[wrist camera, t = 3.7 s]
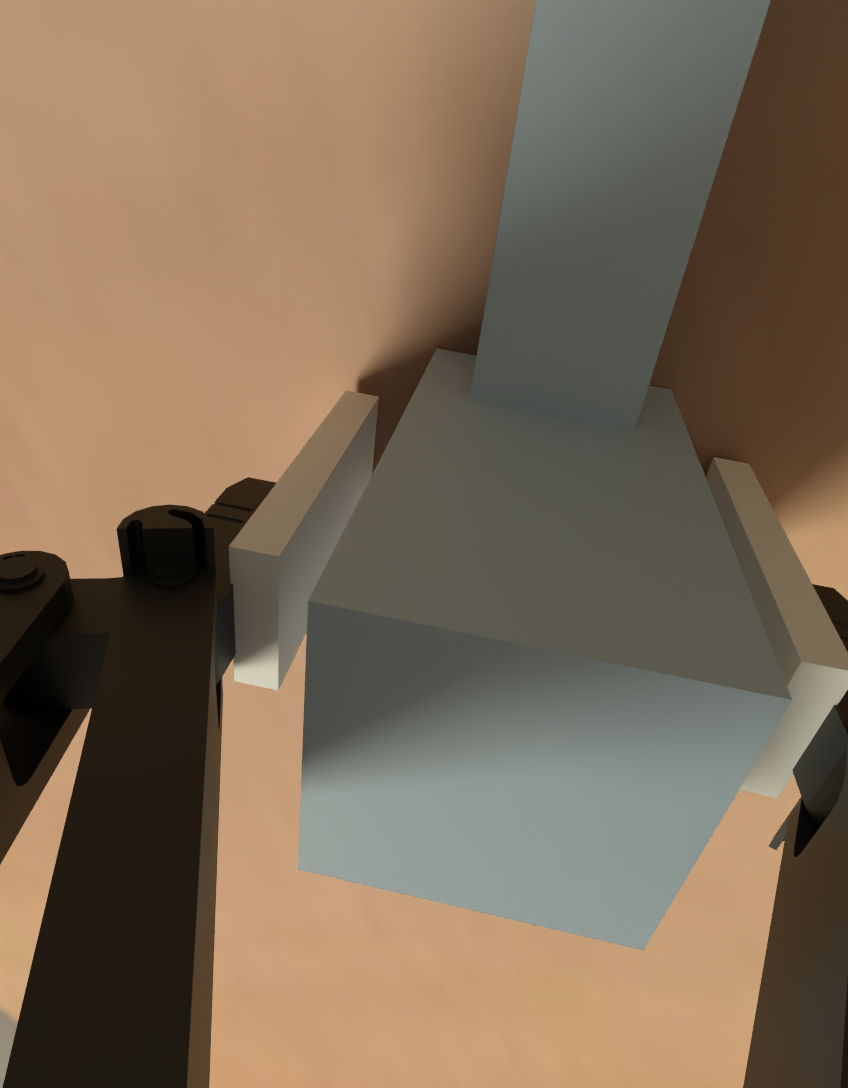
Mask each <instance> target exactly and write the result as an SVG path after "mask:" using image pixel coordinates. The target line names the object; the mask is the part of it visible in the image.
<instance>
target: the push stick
mask: <svg viewBox="0 0 848 1088" xmlns="http://www.w3.org/2000/svg"><path fill="white" fill-rule="evenodd" d="M770 2H771V0H536V5H535V11H534V17H533V22H532V28H531V34H530V40H529V46H528V52H527V58H526V64H525V70H524V76H523V82H522V88H521V94H520V100H519V106H518V112H517V118H516V124H515V130H514V136H513V142H512V148H511V154H510V160H509V166H508V172H507V177H506V183H505V189H504V195H503V201H502V207H501V213H500V219H499V225H498V231H497V237H496V243H495V249H494V255H493V261H492V267H491V273H490V279H489V285H488V291H487V297H486V303H485V309H484V315H483V321H482V327H481V332H480V338H479V344H478V350H477V355H472V354H467V353H461V352H455V351H449V350H444V349H438V348H437V349H436V350H435V352H434V354H433V356H432V358H431V360H430V362H429V364H428V366H427V368H426V370H425V372H424V374H423V376H422V378H421V380H420V382H419V384H418V386H417V388H416V390H415V392H414V394H413V396H412V398H411V400H410V402H409V404H408V405H407V407H406V409H405V411H404V413H403V415H402V417H401V419H400V421H399V423H398V425H397V427H396V429H395V431H394V433H393V435H392V437H391V439H390V441H389V443H388V445H387V447H386V449H385V451H384V453H383V455H382V457H381V459H380V460H379V462H378V464H377V466H376V468H375V470H374V472H373V474H372V476H371V478H370V480H369V482H368V484H367V486H366V488H365V490H364V492H363V494H362V496H361V498H360V500H359V502H358V504H357V506H356V508H355V510H354V512H353V514H352V516H351V517H350V519H349V521H348V523H347V525H346V527H345V529H344V531H343V533H342V535H341V537H340V539H339V541H338V543H337V545H336V547H335V549H334V551H333V553H332V555H331V557H330V559H329V561H328V563H327V565H326V567H325V569H324V571H323V572H322V574H321V576H320V578H319V580H318V582H317V584H316V586H315V588H314V590H313V592H312V594H311V596H310V598H309V600H308V616H307V644H306V671H305V698H304V725H303V753H302V780H301V807H300V835H299V862H298V870H303V871H307V872H311V873H316V874H320V875H324V876H328V877H333V878H337V879H341V880H345V881H350V882H354V883H358V884H362V885H367V886H371V887H375V888H380V889H384V890H388V891H392V892H397V893H401V894H405V895H409V896H414V897H418V898H422V899H427V900H431V901H435V902H439V903H444V904H448V905H452V906H456V907H461V908H465V909H469V910H473V911H478V912H482V913H486V914H491V915H495V916H499V917H503V918H508V919H512V920H516V921H520V922H525V923H529V924H533V925H538V926H542V927H546V928H550V929H555V930H559V931H563V932H567V933H572V934H576V935H580V936H585V937H589V938H593V939H597V940H602V941H606V942H610V943H614V944H619V945H623V946H627V947H631V948H636V949H640V950H644V948H645V947H646V945H647V943H648V942H649V940H650V938H651V937H652V935H653V933H654V932H655V930H656V928H657V926H658V925H659V923H660V921H661V920H662V918H663V916H664V915H665V913H666V911H667V910H668V908H669V906H670V905H671V903H672V901H673V900H674V898H675V896H676V895H677V893H678V891H679V890H680V888H681V886H682V885H683V883H684V881H685V879H686V878H687V876H688V874H689V873H690V871H691V869H692V868H693V866H694V864H695V863H696V861H697V859H698V858H699V856H700V854H701V853H702V851H703V849H704V848H705V846H706V844H707V843H708V841H709V839H710V837H711V836H712V834H713V832H714V831H715V829H716V827H717V826H718V824H719V822H720V821H721V819H722V817H723V816H724V814H725V812H726V811H727V809H728V807H729V806H730V804H731V802H732V801H733V799H734V797H735V796H736V794H737V792H738V790H739V789H740V787H741V785H742V784H743V782H744V780H745V779H746V777H747V775H748V774H749V772H750V770H751V769H752V767H753V765H754V764H755V762H756V760H757V759H758V757H759V755H760V754H761V752H762V750H763V748H764V747H765V745H766V743H767V742H768V740H769V738H770V737H771V735H772V733H773V732H774V730H775V728H776V727H777V725H778V723H779V722H780V720H781V718H782V717H783V715H784V713H785V712H786V710H787V708H788V707H789V705H790V703H791V701H792V698H791V695H790V693H789V690H788V688H787V685H786V682H785V680H784V677H783V675H782V672H781V670H780V667H779V664H778V662H777V659H776V657H775V654H774V652H773V649H772V646H771V644H770V641H769V639H768V636H767V634H766V631H765V628H764V626H763V623H762V621H761V618H760V616H759V613H758V610H757V608H756V605H755V603H754V600H753V598H752V595H751V592H750V590H749V587H748V585H747V582H746V580H745V577H744V574H743V572H742V569H741V567H740V564H739V562H738V559H737V556H736V554H735V551H734V549H733V546H732V543H731V541H730V538H729V536H728V533H727V531H726V528H725V525H724V523H723V520H722V518H721V515H720V513H719V510H718V507H717V505H716V502H715V500H714V497H713V495H712V492H711V489H710V487H709V484H708V482H707V479H706V477H705V474H704V471H703V469H702V466H701V464H700V461H699V459H698V456H697V453H696V451H695V448H694V446H693V443H692V441H691V438H690V435H689V433H688V430H687V428H686V425H685V423H684V420H683V417H682V415H681V412H680V410H679V407H678V405H677V402H676V399H675V397H674V394H673V392H672V389H666V388H661V387H655V386H649V383H650V380H651V377H652V374H653V371H654V368H655V364H656V361H657V358H658V355H659V352H660V349H661V346H662V342H663V339H664V336H665V333H666V330H667V327H668V323H669V320H670V317H671V314H672V311H673V308H674V305H675V301H676V298H677V295H678V292H679V289H680V286H681V282H682V279H683V276H684V273H685V270H686V267H687V264H688V260H689V257H690V254H691V251H692V248H693V245H694V241H695V238H696V235H697V232H698V229H699V226H700V222H701V219H702V216H703V213H704V210H705V207H706V204H707V200H708V197H709V194H710V191H711V188H712V185H713V181H714V178H715V175H716V172H717V169H718V166H719V163H720V159H721V156H722V153H723V150H724V147H725V144H726V140H727V137H728V134H729V131H730V128H731V125H732V122H733V118H734V115H735V112H736V109H737V106H738V103H739V99H740V96H741V93H742V90H743V87H744V84H745V81H746V77H747V74H748V71H749V68H750V65H751V62H752V58H753V55H754V52H755V49H756V46H757V43H758V39H759V36H760V33H761V30H762V27H763V24H764V21H765V17H766V14H767V11H768V8H769V5H770Z"/></svg>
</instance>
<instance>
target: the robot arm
mask: <svg viewBox="0 0 848 1088" xmlns="http://www.w3.org/2000/svg"><path fill="white" fill-rule="evenodd" d="M378 403H379V396H373V395H368V394H362V393H357V392H351V391H346V392H345V393H344V394H343V396H342V397H341V398H340V399H339V401H338V402H337V403H336V405H335V406H334V407H333V409H332V410H331V411H330V413H329V414H328V415H327V417H326V418H325V419H324V421H323V422H322V423H321V425H320V426H319V427H318V429H317V430H316V431H315V433H314V434H313V435H312V437H311V438H310V439H309V441H308V442H307V443H306V445H305V446H304V447H303V449H302V450H301V451H300V453H299V454H298V455H297V457H296V458H295V459H294V461H293V462H292V463H291V464H290V466H289V467H288V468H287V470H286V471H285V472H284V474H283V475H282V476H281V478H280V479H279V480H278V482H277V483H275V482H269V481H264V480H259V479H254V478H249V477H248V478H246V479H244V480H242V481H240V482H238V483H236V484H234V485H232V486H229V487H227V488H226V489H225V491H224V492H223V493H222V494H221V495H220V496H219V497H218V499H217V500H216V501H215V504H214V505H213V504H212V506H211V507H210V508H209V509H208V510H207V511H206V512H205V514H204V513H203V512H202V511H199V510H196V509H194V508H191V507H188V506H178V505H162V506H152V507H149V508H145V509H142V510H139V511H136V512H134V513H132V514H131V515H129V516H128V517H126V518H124V519H123V520H122V522H121V523H120V525H119V526H118V528H117V534H118V541H119V548H120V554H121V561H122V568H123V575H124V576H123V577H120V578H105V579H70V576H69V571H68V568H67V565H66V562H65V561H64V560H62V559H61V558H59V557H58V556H57V555H55V554H50V553H46V552H42V551H18V552H13V553H12V552H11V553H7V554H3V555H0V864H1V862H2V861H3V859H4V857H5V855H6V854H7V852H8V850H9V848H10V847H11V845H12V843H13V842H14V840H15V838H16V836H17V835H18V833H19V831H20V829H21V828H22V826H23V824H24V822H25V821H26V819H27V817H28V816H29V814H30V812H31V810H32V809H33V807H34V805H35V803H36V802H37V800H38V798H39V797H40V795H41V793H42V791H43V790H44V788H45V786H46V784H47V783H48V781H49V779H50V777H51V776H52V774H53V772H54V771H55V769H56V767H57V765H58V764H59V762H60V760H61V758H62V757H63V755H64V753H65V751H66V750H67V748H68V746H69V745H70V743H71V741H72V739H73V738H74V736H75V734H76V732H77V731H78V729H79V727H80V726H81V724H82V722H83V720H84V719H85V717H86V715H87V713H88V712H89V710H90V708H92V711H91V716H90V720H89V724H88V728H87V733H86V737H85V741H84V745H83V749H82V754H81V758H80V762H79V766H78V771H77V775H76V779H75V783H74V788H73V792H72V796H71V800H70V804H69V809H68V813H67V817H66V821H65V826H64V830H63V834H62V838H61V843H60V847H59V851H58V855H57V860H56V864H55V868H54V872H53V876H52V881H51V885H50V889H49V893H48V898H47V902H46V906H45V910H44V915H43V919H42V923H41V927H40V932H39V936H38V940H37V944H36V948H35V953H34V957H33V961H32V965H31V970H30V974H29V978H28V982H27V987H26V991H25V995H24V999H23V1004H22V1008H21V1012H20V1016H19V1020H18V1025H17V1029H16V1033H15V1037H14V1042H13V1046H12V1050H11V1055H10V1059H9V1063H8V1068H7V1072H6V1076H5V1080H4V1084H3V1088H209V1075H210V1047H211V1019H212V990H213V962H214V934H215V906H216V877H217V849H218V821H219V793H220V764H221V736H222V708H223V686H222V676H223V674H224V673H225V671H226V669H227V667H228V666H229V664H230V662H231V661H232V659H233V658H234V681H237V682H241V683H246V684H251V685H255V686H260V687H265V688H269V689H274V690H279V688H280V686H281V684H282V682H283V679H284V677H285V675H286V673H287V671H288V669H289V667H290V665H291V663H292V661H293V659H294V657H295V655H296V653H297V650H298V648H299V646H300V644H301V642H302V640H303V638H304V636H305V634H306V632H307V616H308V600H309V598H310V596H311V594H312V592H313V590H314V588H315V586H316V584H317V582H318V580H319V578H320V576H321V574H322V572H323V571H324V569H325V567H326V565H327V563H328V561H329V559H330V557H331V555H332V553H333V551H334V549H335V547H336V545H337V543H338V541H339V539H340V537H341V535H342V533H343V531H344V529H345V527H346V525H347V523H348V521H349V519H350V517H351V516H352V514H353V512H354V510H355V508H356V506H357V504H358V502H359V500H360V498H361V496H362V494H363V492H364V490H365V488H366V486H367V484H368V482H369V480H370V478H371V476H372V469H373V458H374V447H375V436H376V425H377V414H378ZM706 479H707V482H708V484H709V487H710V489H711V492H712V495H713V497H714V500H715V502H716V505H717V507H718V510H719V513H720V515H721V518H722V520H723V523H724V525H725V528H726V531H727V533H728V536H729V538H730V541H731V543H732V546H733V549H734V551H735V554H736V556H737V559H738V562H739V564H740V567H741V569H742V572H743V574H744V577H745V580H746V582H747V585H748V587H749V590H750V592H751V595H752V598H753V600H754V603H755V605H756V608H757V610H758V613H759V616H760V618H761V621H762V623H763V626H764V628H765V631H766V634H767V636H768V639H769V641H770V644H771V646H772V649H773V652H774V654H775V657H776V659H777V662H778V664H779V667H780V670H781V672H782V675H783V677H784V680H785V682H786V685H787V688H788V690H789V693H790V695H791V698H792V701H791V703H790V705H789V707H788V708H787V710H786V712H785V713H784V715H783V717H782V718H781V720H780V722H779V723H778V725H777V727H776V728H775V730H774V732H773V733H772V735H771V737H770V738H769V740H768V742H767V743H766V745H765V747H764V748H763V750H762V752H761V754H760V755H759V757H758V759H757V760H756V762H755V764H754V765H753V767H752V769H751V770H750V772H749V774H748V775H747V777H746V779H745V780H744V782H743V784H742V785H741V787H740V789H739V790H742V791H747V792H751V793H756V794H760V795H765V796H770V797H774V798H778V796H779V795H780V793H781V792H782V790H783V789H784V787H785V785H786V784H787V782H788V781H789V779H790V778H791V776H792V775H793V773H794V776H795V779H796V782H797V785H798V788H799V790H800V793H801V798H800V799H799V801H798V802H797V804H796V805H795V807H794V808H793V810H792V811H791V812H790V814H789V815H788V817H787V818H786V820H785V821H784V823H783V824H782V826H781V827H780V829H779V830H778V832H777V833H776V835H775V836H774V838H773V840H772V841H771V843H770V845H769V847H771V848H773V849H775V850H777V848H778V847H779V845H780V844H781V843H782V841H784V840H785V843H784V848H783V854H782V860H781V866H780V872H779V878H778V884H777V890H776V896H775V902H774V908H773V914H772V920H771V926H770V932H769V938H768V943H767V949H766V955H765V961H764V967H763V973H762V979H761V985H760V991H759V997H758V1003H757V1009H756V1015H755V1021H754V1027H753V1033H752V1039H751V1044H750V1050H749V1056H748V1062H747V1068H746V1074H745V1080H744V1086H743V1088H848V601H847V600H846V599H845V598H844V597H843V596H842V595H841V594H840V593H838V592H837V591H836V590H835V589H834V588H829V587H824V586H819V585H814V584H812V583H811V581H810V579H809V577H808V575H807V574H806V572H805V570H804V568H803V566H802V564H801V562H800V560H799V558H798V556H797V554H796V552H795V551H794V549H793V547H792V545H791V543H790V541H789V539H788V537H787V535H786V533H785V531H784V530H783V528H782V526H781V524H780V522H779V520H778V518H777V516H776V514H775V512H774V510H773V508H772V507H771V505H770V503H769V501H768V499H767V497H766V495H765V493H764V491H763V489H762V487H761V485H760V484H759V482H758V480H757V478H756V476H755V474H754V472H753V470H752V468H751V466H750V464H748V463H743V462H737V461H732V460H726V459H721V458H715V457H713V460H712V462H711V465H710V467H709V470H708V473H707V475H706Z"/></svg>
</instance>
